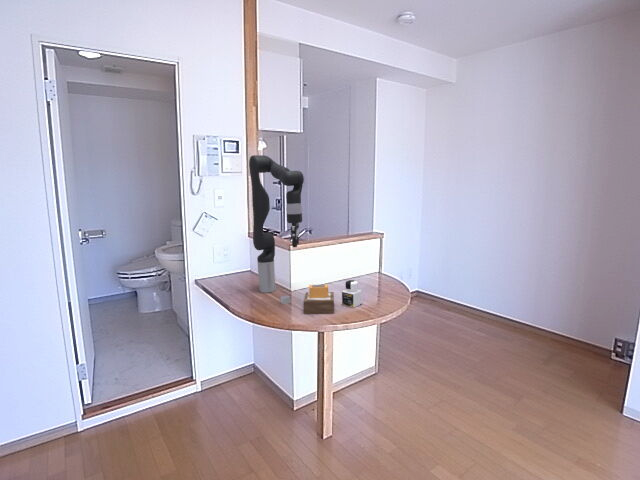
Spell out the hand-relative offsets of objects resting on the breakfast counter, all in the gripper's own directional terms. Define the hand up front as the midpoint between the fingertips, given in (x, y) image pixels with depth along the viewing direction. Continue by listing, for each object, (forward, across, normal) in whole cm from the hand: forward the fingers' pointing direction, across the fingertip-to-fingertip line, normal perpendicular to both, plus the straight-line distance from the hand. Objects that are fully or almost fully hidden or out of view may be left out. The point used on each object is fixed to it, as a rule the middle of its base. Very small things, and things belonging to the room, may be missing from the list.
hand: (295, 245), depth 184 cm
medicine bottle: (+30, -2, -27) cm, 41 cm away
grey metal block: (+30, +3, +7) cm, 31 cm away
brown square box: (+30, -7, -11) cm, 33 cm away
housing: (+24, -7, -11) cm, 27 cm away
